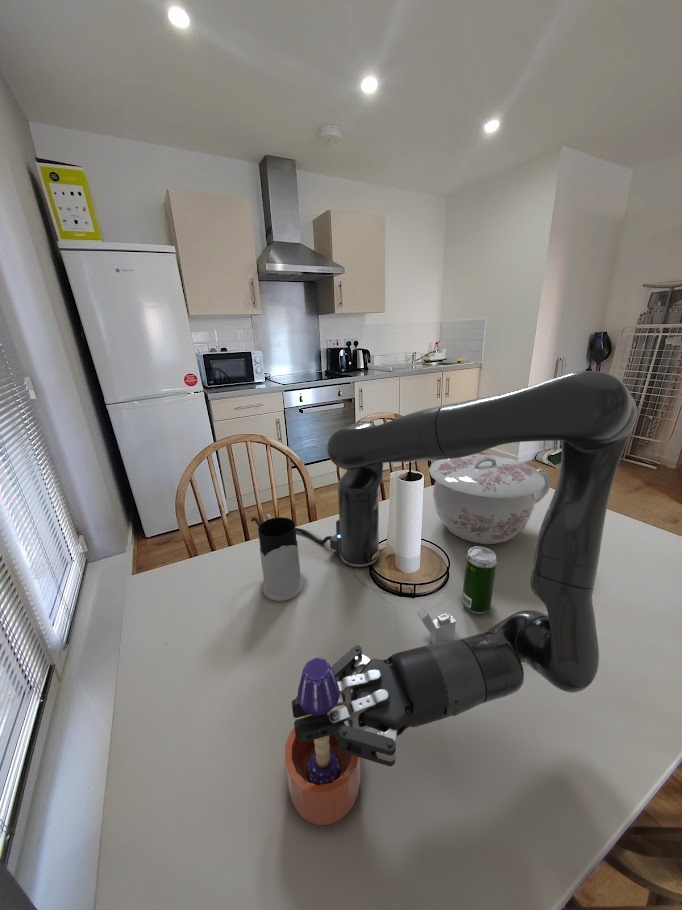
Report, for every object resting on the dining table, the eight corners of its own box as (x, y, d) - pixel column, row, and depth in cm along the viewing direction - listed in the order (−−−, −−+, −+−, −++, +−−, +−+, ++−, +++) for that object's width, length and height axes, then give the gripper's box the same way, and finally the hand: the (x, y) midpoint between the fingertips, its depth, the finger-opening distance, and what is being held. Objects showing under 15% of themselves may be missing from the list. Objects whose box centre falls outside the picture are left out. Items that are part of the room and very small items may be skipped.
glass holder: (268, 606, 72) (259, 543, 67) (254, 566, 84) (246, 510, 79) (308, 592, 75) (304, 531, 70) (289, 556, 88) (284, 501, 82)
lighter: (448, 632, 65) (451, 597, 62) (454, 639, 63) (458, 604, 60) (414, 645, 62) (416, 609, 60) (420, 653, 61) (422, 616, 58)
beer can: (478, 619, 67) (485, 567, 63) (455, 602, 71) (460, 552, 67) (496, 607, 70) (503, 556, 66) (473, 591, 74) (478, 542, 70)
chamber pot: (409, 538, 93) (412, 465, 86) (445, 496, 114) (450, 435, 107) (527, 576, 78) (542, 491, 71) (544, 520, 99) (557, 450, 92)
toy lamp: (306, 748, 46) (295, 652, 40) (342, 743, 46) (336, 648, 40) (306, 794, 41) (293, 694, 36) (346, 789, 42) (339, 688, 36)
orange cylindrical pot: (274, 788, 44) (269, 757, 42) (320, 726, 50) (318, 696, 48) (330, 846, 39) (327, 814, 37) (373, 769, 45) (373, 738, 43)
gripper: (412, 614, 48) (284, 644, 45) (470, 714, 36) (298, 768, 32) (411, 655, 51) (289, 686, 47) (464, 762, 38) (305, 817, 35)
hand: (294, 719), depth 40 cm, fingers closed on toy lamp
